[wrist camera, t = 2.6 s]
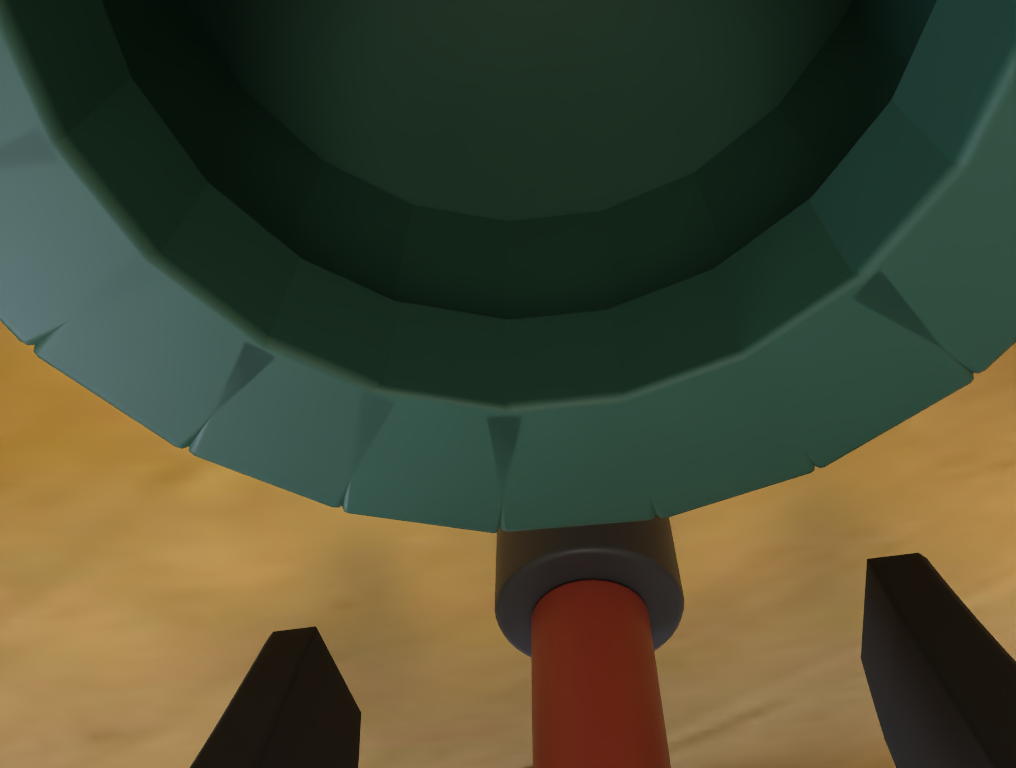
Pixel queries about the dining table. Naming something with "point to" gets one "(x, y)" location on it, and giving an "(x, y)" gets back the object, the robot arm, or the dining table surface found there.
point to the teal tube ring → (511, 237)
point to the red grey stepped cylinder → (592, 637)
